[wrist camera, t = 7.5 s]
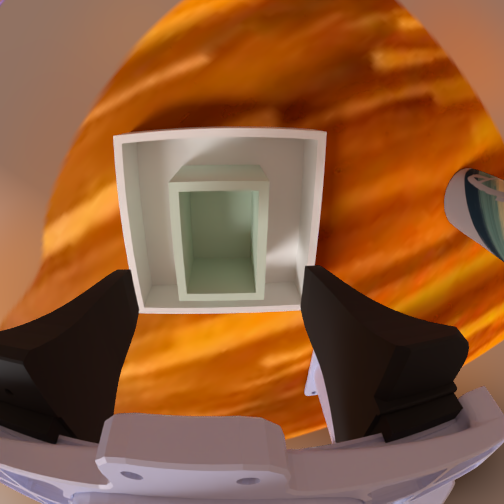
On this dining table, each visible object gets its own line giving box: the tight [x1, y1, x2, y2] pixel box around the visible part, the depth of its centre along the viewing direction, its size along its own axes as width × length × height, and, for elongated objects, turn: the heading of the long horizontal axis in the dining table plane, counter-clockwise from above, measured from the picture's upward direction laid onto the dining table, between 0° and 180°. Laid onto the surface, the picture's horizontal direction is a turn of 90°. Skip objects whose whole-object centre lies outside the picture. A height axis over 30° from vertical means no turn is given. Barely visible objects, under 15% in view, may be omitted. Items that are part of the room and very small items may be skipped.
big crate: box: [113, 126, 327, 314], centre depth 19 cm, size 12×12×4 cm
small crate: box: [168, 165, 270, 301], centre depth 18 cm, size 7×5×5 cm
